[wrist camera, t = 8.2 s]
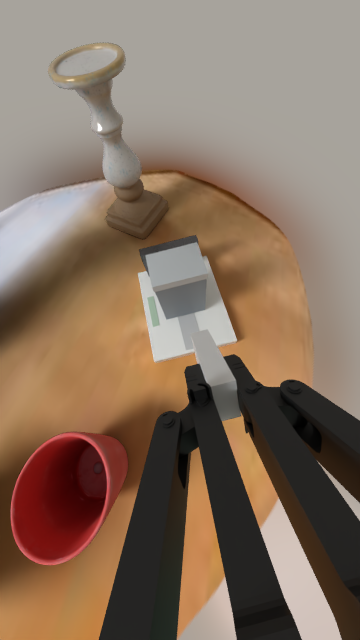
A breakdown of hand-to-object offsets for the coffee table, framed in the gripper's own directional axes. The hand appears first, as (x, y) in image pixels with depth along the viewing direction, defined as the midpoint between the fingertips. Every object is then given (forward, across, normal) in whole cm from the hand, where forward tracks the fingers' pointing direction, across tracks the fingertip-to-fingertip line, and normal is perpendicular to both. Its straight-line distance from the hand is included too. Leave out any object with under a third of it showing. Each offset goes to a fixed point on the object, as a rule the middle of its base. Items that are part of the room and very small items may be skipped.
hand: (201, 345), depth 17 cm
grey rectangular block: (+20, 0, -2) cm, 20 cm away
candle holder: (+40, -4, +14) cm, 42 cm away
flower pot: (+6, -17, -19) cm, 26 cm away
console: (+21, 0, -4) cm, 21 cm away
